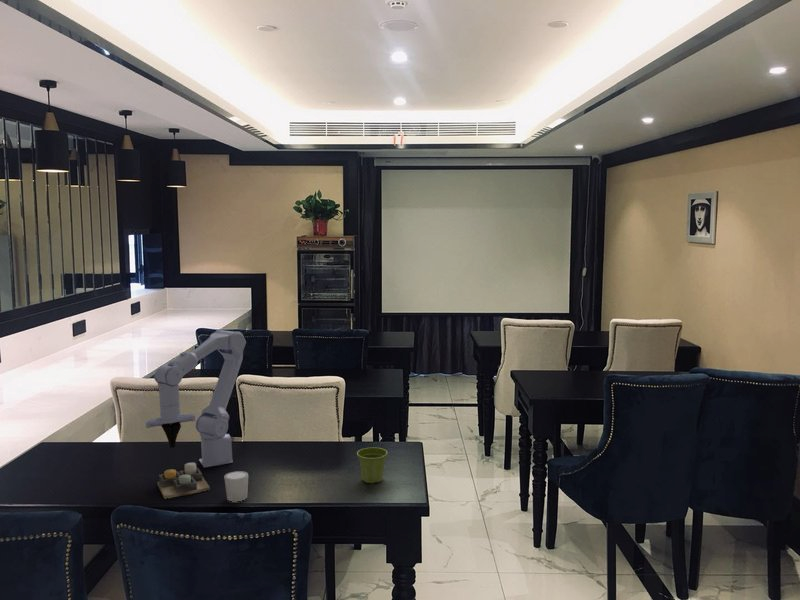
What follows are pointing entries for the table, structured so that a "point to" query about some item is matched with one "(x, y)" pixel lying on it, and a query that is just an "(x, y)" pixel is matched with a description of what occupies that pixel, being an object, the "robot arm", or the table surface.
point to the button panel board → (173, 488)
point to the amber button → (170, 474)
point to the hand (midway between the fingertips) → (172, 446)
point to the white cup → (236, 485)
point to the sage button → (184, 479)
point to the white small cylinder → (190, 468)
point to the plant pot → (372, 463)
